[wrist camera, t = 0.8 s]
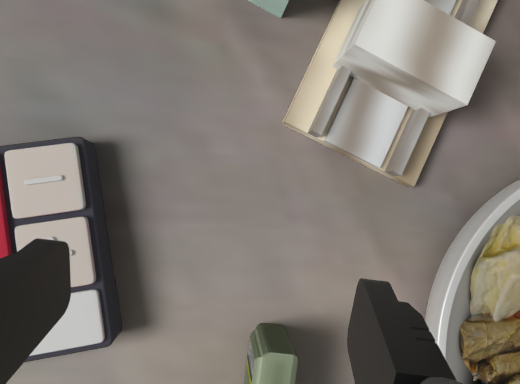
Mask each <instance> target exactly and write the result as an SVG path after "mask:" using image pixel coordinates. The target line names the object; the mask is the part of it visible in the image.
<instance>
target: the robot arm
mask: <svg viewBox="0 0 520 384" xmlns="http://www.w3.org/2000/svg"><path fill="white" fill-rule="evenodd" d="M70 297H71V278H70V253H69V246H68V244H67V243H66V242H64V241H56V240H48V239H40V238H37V239H34V240H33V241H31V242H30V243H29V244H27V245H26V246H25V247H23V248H22V249H21V250H19V251H18V252H16V253H15V254H14V253H13V254H10V255H8V256H5V257H3V258H0V384H6V383H7V381H8V380H9V379H10V378H11V377H12V375H13V374H14V373H15V372H16V371H17V370H18V368H19V367H20V366H21V365H22V364H23V362H24V361H25V360H26V359H27V358H28V357H29V355H30V354H31V353H32V352H33V351H34V349H35V348H36V347H37V346H38V345H39V343H40V342H41V341H42V340H43V339H44V338H45V336H46V335H47V334H48V333H49V332H50V330H51V329H52V328H53V327H54V326H55V325H56V323H57V322H58V321H59V320H60V319H61V317H62V316H63V315H64V314H65V312H66V310H67V308H68V305H69V302H70ZM347 345H348V353H349V357H350V362H351V366H352V371H353V375H354V380H355V384H463V383H461V382H458V381H457V380H456V378H455V376H454V374H453V373H452V371H451V369H450V367H449V365H448V363H447V361H446V360H445V358H444V356H443V354H442V352H441V350H440V348H439V346H438V345H437V343H435V339H434V337H433V335H432V333H431V332H429V328H428V326H427V324H426V322H425V320H424V319H423V317H422V315H421V314H420V313H419V312H418V311H416V310H415V309H414V308H413V307H412V306H411V305H410V304H409V303H406V302H398V300H397V298H396V295H395V293H394V291H393V289H392V287H391V285H390V283H389V282H386V281H377V280H369V279H360V280H359V282H358V285H357V289H356V294H355V298H354V303H353V308H352V313H351V318H350V322H349V328H348V337H347Z"/></svg>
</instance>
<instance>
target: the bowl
mask: <svg viewBox="0 0 520 384" xmlns="http://www.w3.org/2000/svg"><path fill="white" fill-rule="evenodd" d="M425 322H426V324H427V326H428V328H429V332H431V333H432V335H433V337H434V339H435V343H437V345H438V346H439V348H440V350H441V352H442V354H443V356H444V358H445V360H446V361H447V363H448V365H449V367H450V369H451V371H452V373H453V374H454V376H455V378H456V380H457V381H458V382H461V383H463V384H520V179H519V180H517V181H516V182H514V183H512V184H511V185H509V186H507V187H506V188H504V189H503V190H501V191H500V192H498V193H497V194H496V195H495V196H493V197H492V198H491V199H490V200H488V201H487V202H486V203H485V204H484V205H483V206H482V207H481V208H480V209H478V211H477V212H476V213H475V214H474V215H473V216H472V217H471V218H470V219H469V220H468V221H467V223H466V224H465V225H464V226H463V228H462V229H461V230H460V232H459V233H458V234H457V236H456V237H455V239H454V240H453V242H452V244H451V245H450V247H449V249H448V250H447V252H446V254H445V256H444V258H443V260H442V262H441V264H440V267H439V269H438V271H437V274H436V276H435V279H434V282H433V285H432V289H431V292H430V296H429V300H428V305H427V310H426V317H425Z"/></svg>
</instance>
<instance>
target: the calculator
mask: <svg viewBox="0 0 520 384" xmlns="http://www.w3.org/2000/svg"><path fill="white" fill-rule="evenodd" d="M37 238H40V239H48V240H56V241H64V242H66V243H67V244H68V246H69V253H70V278H71V297H70V302H69V305H68V308H67V310H66V312H65V314H64V315H63V316H62V317H61V319H60V320H59V321H58V322H57V323H56V325H55V326H54V327H53V328H52V329H51V330H50V332H49V333H48V334H47V335H46V336H45V338H44V339H43V340H42V341H41V342H40V343H39V345H38V346H37V347H36V348H35V349H34V351H33V352H32V353H31V354H30V355H29V357H28V358H27V359H26V360H25V361H24V362H28V361H33V360H39V359H44V358H50V357H55V356H60V355H66V354H71V353H76V352H82V351H87V350H92V349H98V348H103V347H107V346H110V345H111V344H112V342H113V341H114V340H115V338H116V337H117V335H118V334H119V333H120V331H121V330H122V323H121V316H120V310H119V303H118V297H117V290H116V283H115V279H114V275H113V270H112V263H111V256H110V249H109V242H108V234H107V227H106V220H105V213H104V206H103V199H102V192H101V185H100V179H99V172H98V165H97V159H96V152H95V147H94V145H93V144H92V143H91V142H89V141H87V140H85V139H84V138H82V137H71V138H63V139H54V140H46V141H38V142H30V143H22V144H14V145H5V146H0V258H3V257H5V256H8V255H10V254H13V253H14V254H15V253H16V252H18V251H19V250H21V249H22V248H23V247H25V246H26V245H27V244H29V243H30V242H31V241H33V240H34V239H37Z"/></svg>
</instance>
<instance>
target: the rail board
mask: <svg viewBox="0 0 520 384" xmlns="http://www.w3.org/2000/svg"><path fill="white" fill-rule="evenodd" d="M497 1H498V0H340V1H339V3H338V5H337V7H336V9H335V12H334V14H333V16H332V18H331V20H330V22H329V24H328V26H327V29H326V31H325V33H324V35H323V37H322V39H321V41H320V43H319V46H318V48H317V50H316V52H315V54H314V56H313V58H312V60H311V63H310V65H309V67H308V69H307V71H306V73H305V75H304V77H303V80H302V82H301V84H300V86H299V88H298V90H297V92H296V95H295V97H294V99H293V101H292V103H291V105H290V107H289V109H288V112H287V114H286V116H285V118H284V120H283V122H282V124H283V125H285V126H287V127H289V128H291V129H293V130H295V131H297V132H299V133H301V134H303V135H305V136H307V137H309V138H311V139H313V140H315V141H317V142H319V143H321V144H323V145H325V146H327V147H329V148H331V149H333V150H335V151H337V152H339V153H341V154H343V155H345V156H347V157H349V158H351V159H353V160H355V161H357V162H359V163H361V164H363V165H365V166H367V167H369V168H371V169H373V170H375V171H377V172H379V173H381V174H383V175H385V176H387V177H389V178H391V179H393V180H395V181H397V182H399V183H401V184H403V185H405V186H407V187H414V186H415V184H416V182H417V180H418V177H419V175H420V173H421V171H422V168H423V166H424V164H425V162H426V159H427V157H428V155H429V153H430V151H431V148H432V146H433V144H434V142H435V139H436V137H437V135H438V133H439V130H440V128H441V126H442V124H443V122H444V119H445V117H446V115H447V113H448V111H451V110H454V109H457V108H460V107H464V106H467V105H468V103H469V101H470V98H471V96H472V94H473V92H474V90H475V87H476V85H477V83H478V81H479V78H480V76H481V74H482V72H483V69H484V67H485V65H486V63H487V60H488V58H489V56H490V54H491V51H492V49H493V47H494V45H495V42H496V41H494V40H493V39H491V38H489V37H487V36H486V35H484V34H483V32H484V30H485V28H486V26H487V23H488V21H489V19H490V17H491V14H492V12H493V10H494V8H495V6H496V3H497Z"/></svg>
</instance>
